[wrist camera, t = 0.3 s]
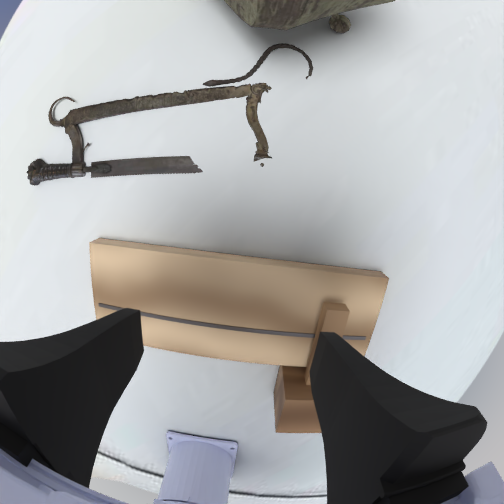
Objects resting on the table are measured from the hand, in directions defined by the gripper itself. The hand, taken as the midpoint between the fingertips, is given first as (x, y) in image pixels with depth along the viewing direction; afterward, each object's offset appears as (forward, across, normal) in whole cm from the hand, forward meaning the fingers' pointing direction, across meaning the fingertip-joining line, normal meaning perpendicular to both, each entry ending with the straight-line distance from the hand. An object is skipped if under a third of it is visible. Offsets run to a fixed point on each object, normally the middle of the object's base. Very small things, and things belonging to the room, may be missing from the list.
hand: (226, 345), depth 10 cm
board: (+10, 0, +3) cm, 10 cm away
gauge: (+10, -7, +6) cm, 13 cm away
